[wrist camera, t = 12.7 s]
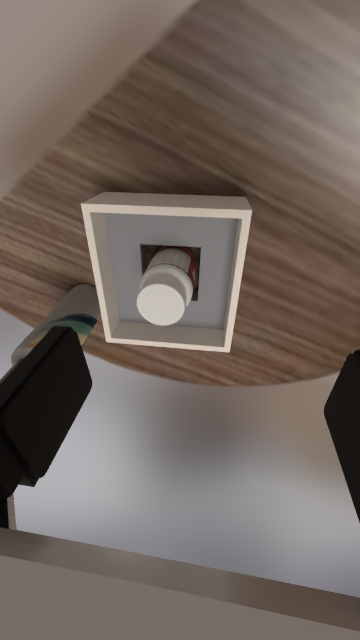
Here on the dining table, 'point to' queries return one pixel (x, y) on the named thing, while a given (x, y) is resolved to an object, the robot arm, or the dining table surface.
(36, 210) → the dining table surface
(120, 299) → the box
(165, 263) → the pill bottle
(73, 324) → the lotion bottle
